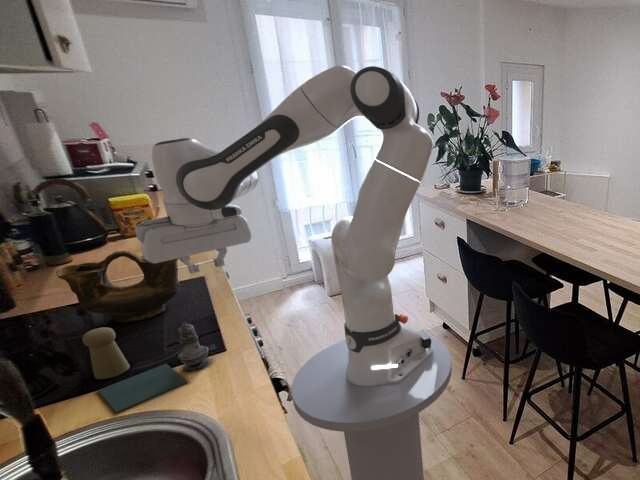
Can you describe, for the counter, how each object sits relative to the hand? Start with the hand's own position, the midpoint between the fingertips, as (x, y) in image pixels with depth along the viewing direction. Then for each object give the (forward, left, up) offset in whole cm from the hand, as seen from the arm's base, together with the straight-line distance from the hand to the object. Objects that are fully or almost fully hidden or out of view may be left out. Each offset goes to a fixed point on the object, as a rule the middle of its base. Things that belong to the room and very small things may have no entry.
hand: (207, 269), depth 97 cm
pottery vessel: (+6, -42, -23) cm, 48 cm away
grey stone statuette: (+7, 0, -23) cm, 24 cm away
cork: (+19, -13, -23) cm, 33 cm away
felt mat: (+17, 0, -23) cm, 29 cm away
